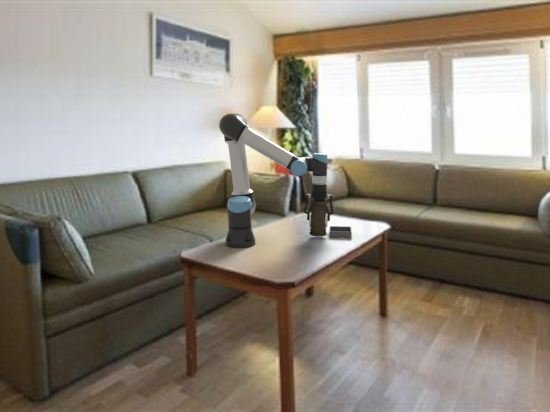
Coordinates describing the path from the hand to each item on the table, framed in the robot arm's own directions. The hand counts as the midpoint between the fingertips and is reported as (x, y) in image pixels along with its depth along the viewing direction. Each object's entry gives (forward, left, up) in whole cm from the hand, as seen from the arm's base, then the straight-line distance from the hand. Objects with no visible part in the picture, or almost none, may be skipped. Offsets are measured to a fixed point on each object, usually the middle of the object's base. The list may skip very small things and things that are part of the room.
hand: (318, 226), depth 241 cm
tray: (+11, +6, -6) cm, 14 cm away
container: (0, 0, -5) cm, 5 cm away
